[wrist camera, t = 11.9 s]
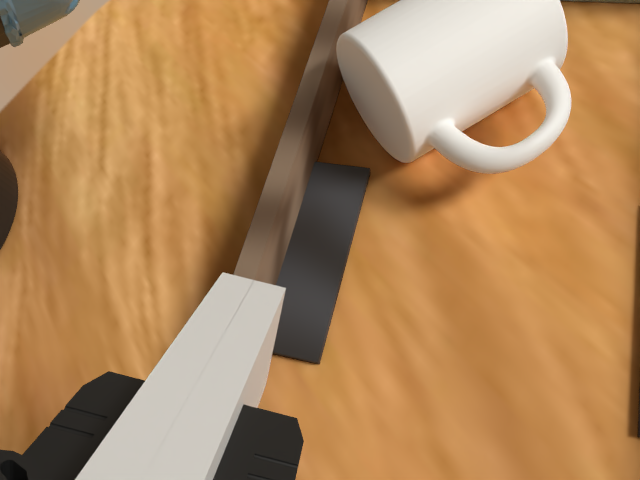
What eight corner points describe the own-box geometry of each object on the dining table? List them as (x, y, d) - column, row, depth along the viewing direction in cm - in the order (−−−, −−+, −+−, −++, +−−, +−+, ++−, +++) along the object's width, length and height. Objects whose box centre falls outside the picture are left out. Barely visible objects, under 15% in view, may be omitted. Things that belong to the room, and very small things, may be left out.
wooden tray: (763, 516, 23) (841, 516, 18) (226, 381, 30) (188, 358, 25) (738, -9, 34) (782, -86, 30) (356, -17, 41) (346, -81, 37)
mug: (346, 104, 36) (323, 6, 29) (473, 30, 37) (480, -83, 30) (455, 239, 31) (459, 157, 24) (603, 148, 31) (649, 43, 24)
